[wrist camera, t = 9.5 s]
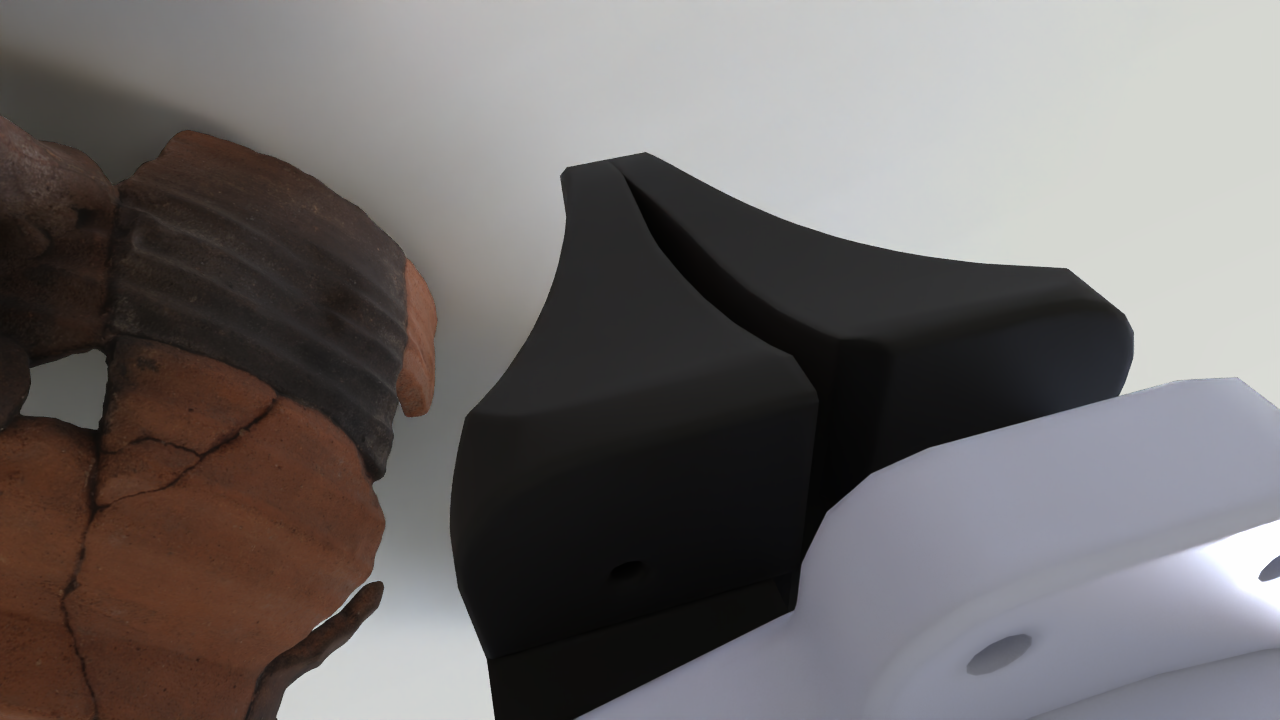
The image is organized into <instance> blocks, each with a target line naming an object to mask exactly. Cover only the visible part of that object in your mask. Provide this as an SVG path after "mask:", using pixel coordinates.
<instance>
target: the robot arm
mask: <svg viewBox="0 0 1280 720" xmlns="http://www.w3.org/2000/svg"><path fill="white" fill-rule="evenodd" d="M560 178H561V185H562V192H563V198H564V205H565V212H566V227H565V235H564V241H563V245H562V250H561V254H560V259H559V263H558V267H557V271H556V274H555V277H554V280H553V283H552V286H551V289H550V292H549V294H548V297H547V299H546V302H545V304H544V306H543V308H542V311H541V313H540V315H539V317H538V319H537V321H536V323H535V325H534V327H533V329H532V331H531V333H530V335H529V337H528V338H527V340H526V342H525V343H524V345H523V346H522V348H521V349H520V351H519V352H518V354H517V355H516V357H515V358H514V360H513V361H512V363H511V364H510V366H509V367H508V369H507V370H506V372H505V373H504V374H503V376H502V377H501V378H500V380H499V381H498V382H497V383H496V384H495V386H494V387H493V388H492V389H491V390H490V391H489V392H488V393H487V394H486V395H485V397H484V398H483V399H482V400H481V401H480V402H479V403H478V404H477V405H476V406H475V407H474V408H473V409H472V410H471V411H470V412H469V413H468V414H467V416H466V417H465V421H464V425H463V429H462V434H461V438H460V443H459V447H458V452H457V458H456V463H455V469H454V475H453V483H452V492H451V505H450V537H451V544H452V551H453V558H454V565H455V571H456V577H457V584H458V589H459V591H460V594H461V596H462V599H463V601H464V604H465V606H466V609H467V611H468V614H469V616H470V619H471V621H472V624H473V626H474V629H475V631H476V634H477V636H478V638H479V641H480V643H481V646H482V648H483V651H484V653H485V656H486V658H487V664H488V671H489V679H490V686H491V693H492V701H493V708H494V715H495V720H1280V409H1279V408H1277V407H1276V406H1275V405H1273V404H1272V403H1271V402H1269V401H1268V400H1267V399H1266V398H1264V397H1263V396H1262V395H1260V394H1259V393H1258V392H1256V391H1255V390H1254V389H1252V388H1251V387H1250V386H1248V385H1247V384H1246V383H1245V382H1243V381H1242V380H1241V379H1239V378H1238V377H1232V378H1211V379H1190V380H1177V381H1173V382H1169V383H1166V384H1162V385H1158V386H1154V387H1151V388H1147V389H1143V390H1140V391H1136V392H1132V393H1129V394H1125V395H1121V396H1119V394H1120V392H1121V390H1122V388H1123V386H1124V384H1125V381H1126V378H1127V375H1128V372H1129V369H1130V366H1131V363H1132V360H1133V355H1134V332H1133V330H1132V328H1131V326H1130V324H1129V322H1128V320H1127V318H1126V316H1125V314H1123V313H1122V312H1121V311H1120V310H1119V309H1117V308H1116V307H1115V306H1114V305H1112V304H1111V303H1110V302H1109V301H1107V300H1106V299H1105V298H1104V297H1102V296H1101V295H1100V294H1099V293H1097V292H1096V291H1095V290H1094V289H1092V288H1091V287H1090V286H1089V285H1087V284H1086V283H1085V282H1084V281H1082V280H1081V279H1080V278H1079V277H1078V276H1076V275H1075V274H1074V273H1073V272H1071V271H1070V270H1069V269H1067V268H1052V267H1034V266H1016V265H999V264H983V263H973V262H965V261H957V260H949V259H942V258H934V257H927V256H921V255H915V254H909V253H903V252H898V251H893V250H888V249H884V248H879V247H875V246H870V245H866V244H861V243H857V242H853V241H849V240H846V239H842V238H838V237H834V236H831V235H828V234H825V233H822V232H819V231H816V230H813V229H809V228H806V227H803V226H800V225H797V224H794V223H792V222H789V221H786V220H784V219H781V218H778V217H776V216H774V215H771V214H769V213H767V212H764V211H762V210H760V209H757V208H755V207H753V206H750V205H748V204H746V203H744V202H742V201H740V200H737V199H735V198H733V197H731V196H729V195H727V194H725V193H723V192H721V191H719V190H717V189H715V188H713V187H711V186H709V185H708V184H706V183H704V182H702V181H700V180H698V179H696V178H694V177H693V176H691V175H689V174H687V173H685V172H684V171H682V170H680V169H678V168H676V167H674V166H673V165H671V164H669V163H667V162H665V161H663V160H661V159H659V158H657V157H655V156H653V155H651V154H649V153H646V152H644V153H639V154H634V155H629V156H623V157H618V158H613V159H608V160H603V161H597V162H592V163H587V164H582V165H577V166H571V167H567V168H566V169H565V170H564V172H563V173H562V174H561V176H560Z"/></svg>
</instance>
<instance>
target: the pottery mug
mask: <svg viewBox="0 0 1280 720" xmlns="http://www.w3.org/2000/svg"><path fill="white" fill-rule="evenodd" d="M436 327H437V315H436V308H435V303H434V300H433V298H432V295H431V293H430V291H429V289H428V286H427V284H426V282H425V280H424V279H423V277H422V276H421V275H420V274H419V272H418V271H417V269H416V268H415V266H414V264H413V263H412V262H411V261H410V260H409V259H407V258H406V257H405V255H404V252H403V251H402V249H401V248H400V247H399V245H398V244H397V243H396V242H395V241H393V240H392V238H391V237H389V236H388V235H387V234H386V233H385V232H384V231H383V230H381V229H380V228H379V227H378V226H377V225H376V224H375V223H374V222H373V221H372V220H371V219H370V218H369V217H368V215H367V214H366V213H365V212H364V211H363V210H362V209H360V208H359V207H358V206H356V205H354V204H353V203H351V202H349V201H347V200H346V199H343V198H342V197H341V196H339V195H338V194H336V193H335V192H333V191H332V190H331V189H329V188H328V187H326V186H325V185H324V184H323V183H322V182H321V181H319V180H318V179H316V178H314V177H313V176H311V175H308V174H306V173H304V172H302V171H301V170H299V169H298V168H296V167H294V166H292V165H291V164H289V163H287V162H284V161H282V160H279V159H277V158H275V157H272V156H269V155H265V154H261V153H258V152H255V151H253V150H252V149H250V148H247V147H245V146H242V145H239V144H236V143H234V142H231V141H228V140H223V139H219V138H217V137H214V136H211V135H208V134H203V133H199V132H195V131H190V130H185V131H181V132H179V133H177V134H176V135H175V136H174V137H173V138H172V139H170V141H169V142H168V143H167V145H166V146H165V147H164V149H163V150H162V151H161V153H160V155H159V156H158V158H156V159H155V160H152V161H148V162H145V163H143V164H142V165H141V166H140V167H139V168H138V169H137V170H136V171H135V173H134V174H133V176H132V177H130V178H128V179H125V180H123V181H122V182H120V183H118V184H117V185H112V184H111V183H110V181H109V180H108V179H107V177H106V176H105V175H104V173H103V172H102V170H101V168H100V167H99V166H98V165H97V164H96V163H95V162H94V161H93V160H92V159H90V158H89V157H88V156H87V155H86V154H85V153H84V152H82V151H80V150H78V149H76V148H73V147H70V146H66V145H63V144H58V143H55V142H48V141H41V140H37V139H35V138H34V137H32V136H31V135H30V134H29V133H27V132H26V131H24V130H23V129H21V128H20V127H18V126H17V125H16V124H14V123H12V122H11V121H9V120H8V119H6V118H4V117H3V116H1V115H0V720H277V718H276V715H277V712H278V710H279V707H280V704H281V701H282V698H283V694H284V691H285V690H286V688H287V687H288V686H289V685H291V684H292V683H293V682H294V681H295V680H296V679H297V678H299V677H300V676H302V675H303V674H304V673H306V672H308V671H309V670H311V669H314V668H317V667H318V666H320V665H321V664H322V662H323V661H324V660H325V659H326V658H327V657H328V656H329V655H330V654H331V653H332V652H334V651H335V650H336V649H338V648H339V647H341V646H342V645H344V644H345V643H346V642H347V641H348V640H349V639H350V638H351V637H352V635H353V634H354V633H355V632H356V630H357V629H358V628H359V626H360V625H361V624H362V622H363V621H364V620H366V619H367V618H368V617H369V616H370V615H371V614H372V613H373V612H374V611H375V610H376V609H377V608H378V606H379V604H380V601H381V598H382V594H383V590H384V585H383V583H382V582H381V581H376V582H372V583H369V584H367V585H365V586H363V587H362V588H361V589H360V590H359V591H358V593H357V594H356V595H355V596H354V597H353V598H352V599H351V601H350V602H349V603H348V604H347V605H346V606H345V607H344V608H343V609H342V610H341V611H340V612H339V613H338V614H336V615H334V616H333V617H331V618H330V619H328V620H327V621H325V622H324V623H323V624H322V625H320V626H319V627H317V628H316V629H314V630H313V631H312V629H313V628H314V627H315V626H316V625H318V624H319V623H320V622H322V621H323V620H325V619H327V618H328V617H330V616H331V615H332V614H333V613H334V612H335V611H336V610H337V609H338V608H339V607H341V606H342V605H343V603H344V602H345V601H346V599H347V598H348V597H349V595H350V594H351V593H352V592H353V591H354V590H355V589H356V588H358V587H359V586H360V585H361V584H363V583H364V582H365V581H366V579H367V578H368V577H369V576H370V574H371V572H372V570H373V567H374V559H375V554H376V552H377V549H378V547H379V545H380V543H381V540H382V535H383V532H384V529H385V517H384V514H383V511H382V509H381V506H380V504H379V502H378V498H377V495H376V494H375V493H374V491H373V488H372V484H373V483H374V482H375V481H377V480H380V479H381V478H383V477H384V475H385V472H386V464H387V459H388V456H389V454H390V451H391V448H392V443H393V439H394V433H393V430H392V423H393V418H394V415H395V412H396V410H397V406H398V400H399V402H400V404H401V407H402V409H403V412H404V415H405V416H407V417H418V416H422V415H425V414H427V413H428V411H429V409H430V406H431V403H432V399H433V395H434V386H435V349H434V337H435V332H436ZM92 349H98V350H99V351H101V352H102V353H104V354H105V355H106V356H107V357H106V361H105V362H106V364H107V366H108V368H107V370H108V382H107V384H106V393H105V398H104V402H103V413H102V418H101V419H100V421H99V428H98V430H93V429H88V428H81V427H79V426H76V425H73V424H71V423H68V422H64V421H61V420H59V419H57V418H50V417H34V416H23V415H21V414H20V410H21V407H22V405H23V404H24V402H25V400H26V398H27V396H28V394H29V389H30V385H31V376H30V368H33V367H36V366H39V365H42V364H46V363H49V362H53V361H57V360H59V359H62V358H65V357H67V356H70V355H73V354H80V353H86V352H88V351H90V350H92ZM397 397H398V398H397Z"/></svg>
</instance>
